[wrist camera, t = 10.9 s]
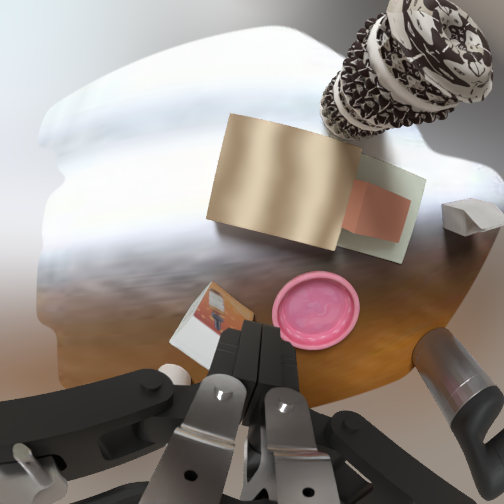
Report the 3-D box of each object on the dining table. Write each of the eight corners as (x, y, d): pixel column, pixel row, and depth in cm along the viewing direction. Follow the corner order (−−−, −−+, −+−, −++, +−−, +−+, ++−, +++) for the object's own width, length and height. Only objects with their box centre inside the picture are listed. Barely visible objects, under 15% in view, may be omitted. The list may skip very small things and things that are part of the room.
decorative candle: (310, 133, 33) (384, 62, 9) (321, 72, 30) (384, -47, 6) (375, 152, 32) (514, 137, 8) (384, 92, 30) (501, 22, 6)
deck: (353, 150, 33) (362, 148, 29) (328, 243, 36) (334, 251, 33) (234, 119, 33) (230, 113, 29) (212, 214, 36) (205, 219, 33)
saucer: (314, 351, 42) (317, 363, 39) (254, 310, 40) (253, 321, 37) (370, 298, 38) (376, 307, 35) (311, 247, 37) (315, 254, 34)
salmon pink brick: (398, 196, 33) (411, 200, 31) (386, 237, 35) (398, 243, 33) (354, 179, 30) (367, 182, 28) (341, 227, 32) (353, 233, 30)
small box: (254, 312, 40) (249, 355, 30) (231, 335, 42) (220, 379, 31) (212, 279, 39) (192, 314, 29) (190, 304, 41) (167, 343, 30)
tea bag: (441, 204, 33) (481, 215, 24) (470, 198, 32) (510, 207, 23) (443, 227, 34) (482, 244, 25) (471, 220, 33) (511, 234, 24)
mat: (425, 179, 33) (426, 179, 32) (400, 263, 36) (401, 263, 36) (353, 150, 33) (353, 150, 32) (328, 243, 36) (328, 243, 36)
